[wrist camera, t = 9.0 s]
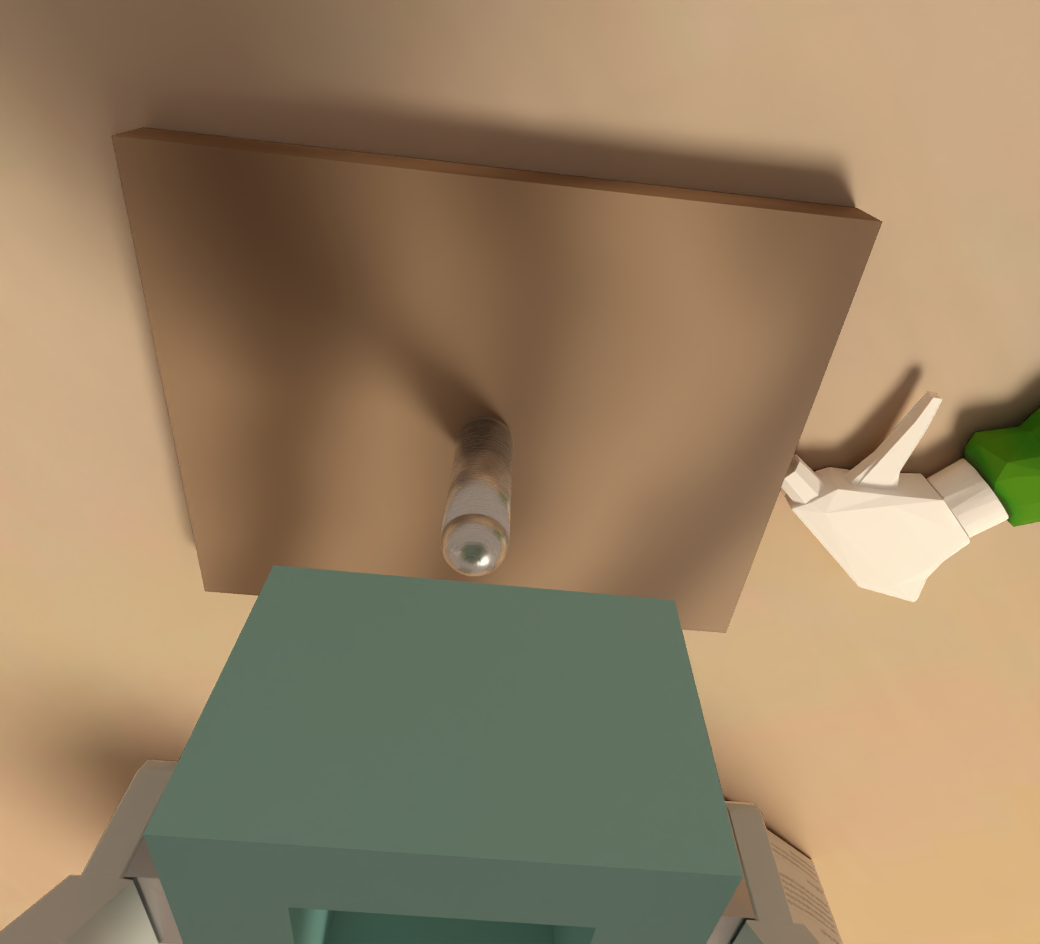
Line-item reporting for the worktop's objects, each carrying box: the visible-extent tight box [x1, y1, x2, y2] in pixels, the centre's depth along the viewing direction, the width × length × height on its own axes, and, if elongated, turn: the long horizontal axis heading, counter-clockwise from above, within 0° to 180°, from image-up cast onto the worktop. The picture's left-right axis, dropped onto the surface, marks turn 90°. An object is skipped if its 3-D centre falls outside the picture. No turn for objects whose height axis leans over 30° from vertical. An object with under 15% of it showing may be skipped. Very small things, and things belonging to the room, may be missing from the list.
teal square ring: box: [143, 565, 743, 944], centre depth 10 cm, size 6×6×4 cm
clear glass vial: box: [440, 416, 513, 576], centre depth 18 cm, size 2×2×6 cm
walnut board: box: [112, 128, 882, 633], centre depth 20 cm, size 18×14×2 cm
